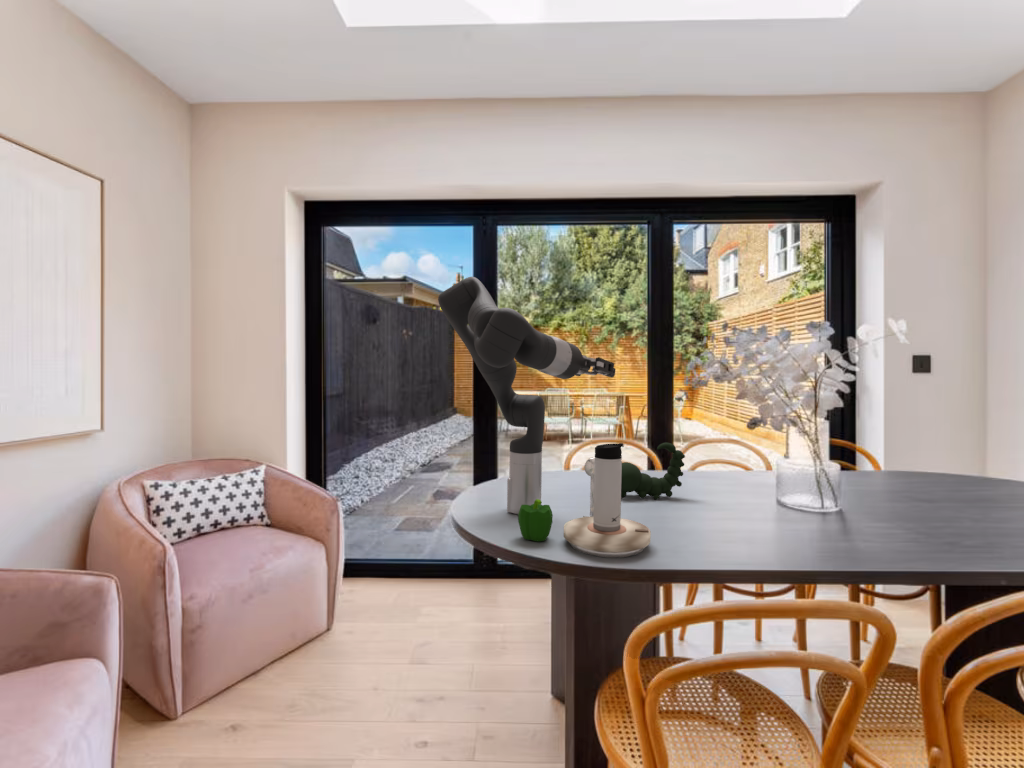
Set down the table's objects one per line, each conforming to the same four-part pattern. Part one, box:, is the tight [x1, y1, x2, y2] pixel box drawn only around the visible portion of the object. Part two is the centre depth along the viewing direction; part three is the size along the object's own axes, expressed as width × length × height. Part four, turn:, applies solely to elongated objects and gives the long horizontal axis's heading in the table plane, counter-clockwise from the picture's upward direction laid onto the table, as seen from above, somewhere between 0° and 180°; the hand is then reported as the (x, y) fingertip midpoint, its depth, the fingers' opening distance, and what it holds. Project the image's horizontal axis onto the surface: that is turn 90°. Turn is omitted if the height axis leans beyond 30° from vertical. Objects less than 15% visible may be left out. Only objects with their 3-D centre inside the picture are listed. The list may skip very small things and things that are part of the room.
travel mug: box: [593, 442, 624, 532], centre depth 126 cm, size 6×7×20 cm
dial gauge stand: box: [582, 456, 595, 517], centre depth 141 cm, size 6×8×18 cm
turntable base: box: [569, 542, 644, 559], centre depth 127 cm, size 17×17×1 cm
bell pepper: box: [517, 499, 554, 542], centre depth 130 cm, size 8×8×10 cm
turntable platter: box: [563, 516, 652, 552], centre depth 126 cm, size 20×20×2 cm
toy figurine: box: [621, 442, 686, 501], centre depth 171 cm, size 9×19×25 cm
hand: (596, 372), depth 121 cm, fingers open, 8 cm apart
